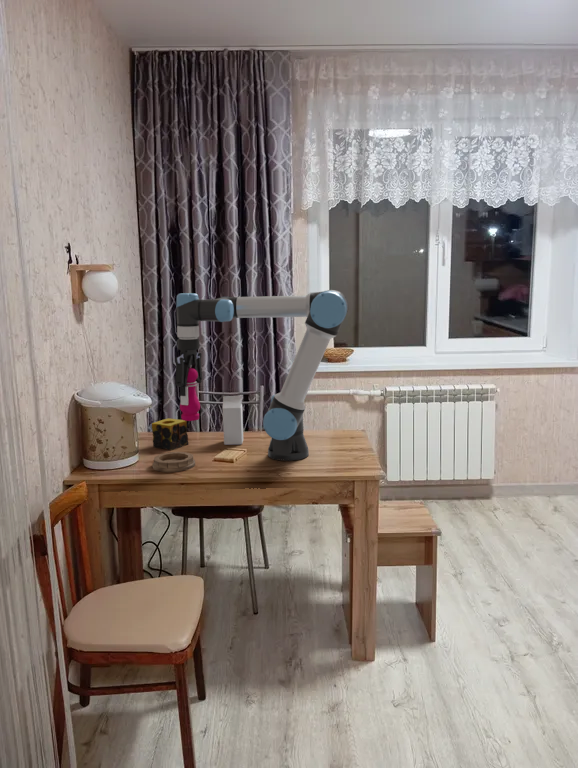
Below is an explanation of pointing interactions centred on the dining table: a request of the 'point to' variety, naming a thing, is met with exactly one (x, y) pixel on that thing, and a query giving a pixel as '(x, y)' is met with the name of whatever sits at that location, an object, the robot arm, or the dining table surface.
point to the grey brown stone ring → (173, 462)
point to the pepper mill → (191, 398)
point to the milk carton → (232, 420)
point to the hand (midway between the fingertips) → (189, 402)
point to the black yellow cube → (169, 434)
